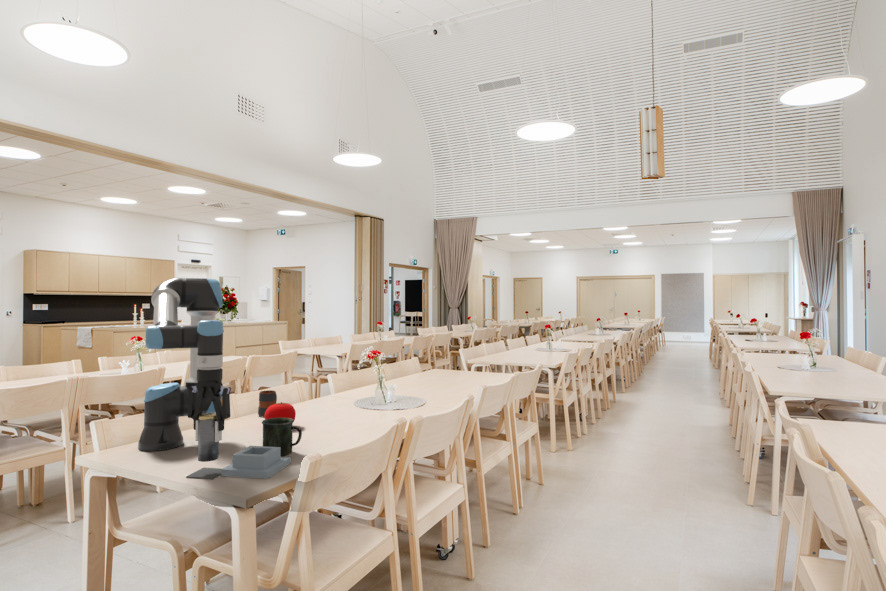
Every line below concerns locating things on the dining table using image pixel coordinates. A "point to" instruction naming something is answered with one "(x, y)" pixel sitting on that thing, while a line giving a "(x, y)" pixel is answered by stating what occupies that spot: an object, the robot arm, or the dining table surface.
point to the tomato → (280, 411)
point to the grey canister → (207, 438)
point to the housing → (256, 462)
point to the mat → (206, 473)
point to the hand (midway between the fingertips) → (208, 440)
